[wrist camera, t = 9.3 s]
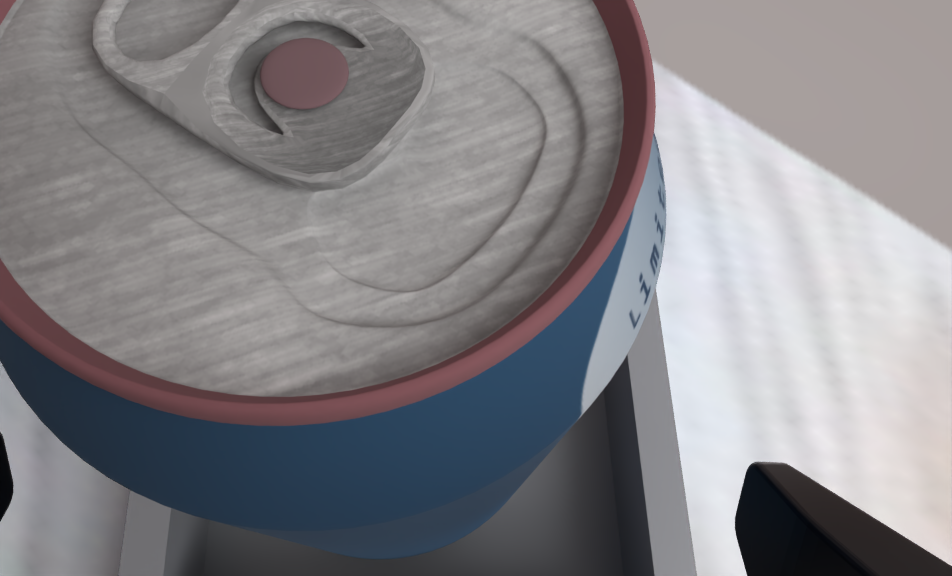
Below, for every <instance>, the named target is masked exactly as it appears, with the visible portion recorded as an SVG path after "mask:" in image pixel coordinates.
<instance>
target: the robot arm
mask: <svg viewBox="0 0 952 576" xmlns="http://www.w3.org/2000/svg"><path fill="white" fill-rule="evenodd" d="M12 495H13V479H12V475H11V470H10V466H9V461H8V456H7V452H6V447H5V443H4V439H3V436H2V434H1V432H0V521H1V519H2V518H3V516H4V514H5V512H6V510H7V509H8V507H9V504H10V502H11V499H12ZM735 530H736V536H737V540H738V544H739V547H740V551H741V555H742V558H743V562H744V565H745V569H746V573H747V576H952V566H951V565H949V564H947V563H946V562H944V561H943V560H941V559H939V558H938V557H936V556H934V555H933V554H931V553H930V552H928V551H926V550H925V549H923V548H922V547H920V546H918V545H917V544H915V543H914V542H912V541H910V540H909V539H907V538H905V537H904V536H902V535H901V534H899V533H897V532H896V531H894V530H893V529H891V528H889V527H888V526H886V525H885V524H883V523H881V522H880V521H878V520H877V519H875V518H873V517H872V516H870V515H869V514H867V513H865V512H864V511H862V510H860V509H859V508H857V507H856V506H854V505H852V504H851V503H849V502H848V501H846V500H844V499H843V498H841V497H840V496H838V495H836V494H835V493H833V492H832V491H830V490H828V489H827V488H825V487H823V486H822V485H820V484H819V483H817V482H815V481H814V480H812V479H811V478H809V477H807V476H806V475H804V474H803V473H801V472H799V471H798V470H796V469H795V468H793V467H791V466H790V465H788V464H785V463H778V462H754V463H752V464H751V465H750V466H749V467H748V469H747V472H746V475H745V479H744V483H743V487H742V491H741V495H740V499H739V503H738V508H737V512H736V517H735Z"/></svg>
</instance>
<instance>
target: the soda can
mask: <svg viewBox="0 0 952 576" xmlns="http://www.w3.org/2000/svg"><path fill="white" fill-rule="evenodd" d="M655 108H656V106H655V81H654V73H653V65H652V59H651V55H650V50H649V46H648V41H647V38H646V34H645V31H644V28H643V25H642V22H641V19H640V16H639V13H638V11H637V9H636V6H635V4H634V1H633V0H0V361H1V363H2V364H3V366H4V368H5V370H6V372H7V374H8V376H9V377H10V379H11V381H12V382H13V384H14V385H15V387H16V388H17V390H18V391H19V393H20V394H21V396H22V397H23V399H24V400H25V401H26V403H27V404H28V405H29V406H30V407H31V409H32V410H33V411H34V412H35V414H36V415H37V416H38V417H39V419H40V420H41V421H42V422H43V423H44V424H45V425H46V426H47V427H48V428H49V429H50V430H51V431H52V432H53V433H54V435H55V436H56V437H57V438H58V439H59V440H60V441H61V442H62V443H64V444H65V445H66V446H67V447H68V448H69V449H71V450H72V451H73V452H74V453H75V454H77V455H78V456H79V457H80V458H81V459H83V460H84V461H85V462H86V463H88V464H89V465H91V466H92V467H94V468H95V469H97V470H98V471H100V472H101V473H102V474H104V475H105V476H107V477H108V478H110V479H112V480H113V481H115V482H117V483H119V484H121V485H122V486H124V487H126V488H128V489H129V490H131V491H133V492H135V493H137V494H139V495H141V496H144V497H146V498H148V499H150V500H152V501H155V502H157V503H159V504H161V505H164V506H166V507H169V508H172V509H175V510H178V511H181V512H184V513H187V514H190V515H193V516H196V517H200V518H204V519H207V520H211V521H215V522H219V523H223V524H226V525H230V526H234V527H238V528H241V529H245V530H249V531H253V532H257V533H260V534H264V535H268V536H272V537H276V538H279V539H283V540H287V541H291V542H294V543H298V544H302V545H306V546H310V547H313V548H317V549H321V550H325V551H329V552H332V553H336V554H340V555H344V556H349V557H355V558H362V559H397V558H405V557H411V556H416V555H420V554H424V553H428V552H431V551H434V550H437V549H439V548H442V547H444V546H447V545H449V544H451V543H453V542H455V541H457V540H459V539H461V538H463V537H465V536H466V535H468V534H470V533H471V532H473V531H474V530H476V529H477V528H479V527H480V526H481V525H482V524H484V523H485V522H486V521H488V520H489V519H490V518H491V517H492V516H493V515H494V514H495V513H497V512H498V511H499V510H500V509H501V508H502V506H503V505H504V504H505V503H506V502H507V501H508V500H509V499H510V498H511V497H512V495H513V494H514V493H515V492H516V491H517V490H518V488H519V487H520V486H521V485H522V484H523V483H524V482H525V480H526V479H527V478H528V477H529V476H530V475H531V473H532V472H533V471H534V470H535V469H536V468H537V467H538V465H539V464H540V463H541V462H542V461H543V460H544V458H545V457H546V456H547V455H548V454H549V453H550V452H551V450H552V449H553V448H554V447H555V446H556V445H557V443H558V442H559V441H560V440H561V439H562V438H563V437H564V435H565V434H566V433H567V432H568V431H569V430H570V428H571V427H572V426H573V425H574V424H575V423H576V422H577V420H578V419H579V418H580V417H581V416H582V415H583V413H584V412H585V411H586V410H587V409H588V408H589V407H590V405H591V404H592V403H593V402H594V401H595V399H596V398H597V397H598V396H599V394H600V393H601V392H602V390H603V389H604V388H605V387H606V385H607V384H608V383H609V382H610V380H611V379H612V377H613V376H614V374H615V373H616V371H617V370H618V368H619V367H620V365H621V364H622V362H623V361H624V359H625V357H626V355H627V354H628V352H629V350H630V348H631V346H632V344H633V343H634V341H635V339H636V337H637V335H638V333H639V331H640V328H641V326H642V324H643V321H644V319H645V317H646V314H647V312H648V309H649V306H650V303H651V300H652V297H653V294H654V291H655V288H656V284H657V280H658V276H659V272H660V267H661V263H662V256H663V249H664V242H665V228H666V193H665V184H664V176H663V168H662V163H661V158H660V153H659V149H658V144H657V140H656V137H655V134H654V123H655Z"/></svg>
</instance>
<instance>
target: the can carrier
mask: <svg viewBox="0 0 952 576" xmlns="http://www.w3.org/2000/svg"><path fill="white" fill-rule="evenodd" d="M118 576H697V573H696V566H695V559H694V552H693V545H692V538H691V531H690V524H689V517H688V510H687V503H686V496H685V489H684V482H683V475H682V468H681V461H680V454H679V447H678V440H677V433H676V426H675V420H674V413H673V406H672V399H671V392H670V385H669V378H668V371H667V364H666V357H665V350H664V343H663V336H662V329H661V322H660V315H659V308H658V301H657V294H656V288H655V291H654V294H653V297H652V300H651V303H650V306H649V309H648V312H647V314H646V317H645V319H644V321H643V324H642V326H641V328H640V331H639V333H638V335H637V337H636V339H635V341H634V343H633V344H632V346H631V348H630V350H629V352H628V354H627V355H626V357H625V359H624V361H623V362H622V364H621V365H620V367H619V368H618V370H617V371H616V373H615V374H614V376H613V377H612V379H611V380H610V382H609V383H608V384H607V385H606V387H605V388H604V389H603V390H602V392H601V393H600V394H599V396H598V397H597V398H596V399H595V401H594V402H593V403H592V404H591V405H590V407H589V408H588V409H587V410H586V411H585V412H584V413H583V415H582V416H581V417H580V418H579V419H578V420H577V422H576V423H575V424H574V425H573V426H572V427H571V428H570V430H569V431H568V432H567V433H566V434H565V435H564V437H563V438H562V439H561V440H560V441H559V442H558V443H557V445H556V446H555V447H554V448H553V449H552V450H551V452H550V453H549V454H548V455H547V456H546V457H545V458H544V460H543V461H542V462H541V463H540V464H539V465H538V467H537V468H536V469H535V470H534V471H533V472H532V473H531V475H530V476H529V477H528V478H527V479H526V480H525V482H524V483H523V484H522V485H521V486H520V487H519V488H518V490H517V491H516V492H515V493H514V494H513V495H512V497H511V498H510V499H509V500H508V501H507V502H506V503H505V504H504V505H503V506H502V508H501V509H500V510H499V511H498V512H497V513H495V514H494V515H493V516H492V517H491V518H490V519H489V520H488V521H486V522H485V523H484V524H482V525H481V526H480V527H479V528H477V529H476V530H474V531H473V532H471V533H470V534H468V535H466V536H465V537H463V538H461V539H459V540H457V541H455V542H453V543H451V544H449V545H447V546H444V547H442V548H439V549H437V550H434V551H431V552H428V553H424V554H420V555H416V556H411V557H405V558H397V559H362V558H355V557H349V556H344V555H340V554H336V553H332V552H329V551H325V550H321V549H317V548H313V547H310V546H306V545H302V544H298V543H294V542H291V541H287V540H283V539H279V538H276V537H272V536H268V535H264V534H260V533H257V532H253V531H249V530H245V529H241V528H238V527H234V526H230V525H226V524H223V523H219V522H215V521H211V520H207V519H204V518H200V517H196V516H193V515H190V514H187V513H184V512H181V511H178V510H175V509H172V508H169V507H166V506H164V505H161V504H159V503H157V502H155V501H152V500H150V499H148V498H146V497H144V496H141V495H139V494H137V493H135V492H133V491H131V490H130V492H129V500H128V507H127V514H126V522H125V529H124V536H123V543H122V551H121V558H120V565H119V573H118Z"/></svg>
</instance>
